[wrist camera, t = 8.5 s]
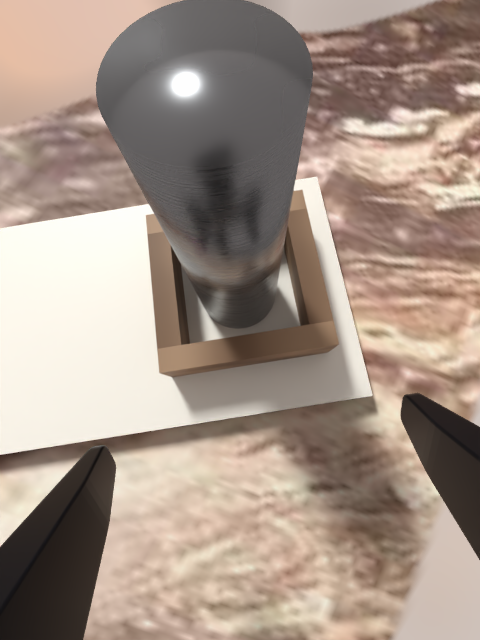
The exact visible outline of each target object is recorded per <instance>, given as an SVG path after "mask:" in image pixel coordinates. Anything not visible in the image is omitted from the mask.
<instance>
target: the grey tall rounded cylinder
mask: <svg viewBox="0 0 480 640" xmlns="http://www.w3.org/2000/svg"><path fill="white" fill-rule="evenodd" d="M312 77H313V71H312V61H311V57H310V53H309V51H308V48H307V46H306V44H305V42H304V40H303V39H302V37H301V36H300V34H299V33H298V32H297V31H296V30H295V28H294V27H293V26H292V25H291V24H290V23H288V22H287V21H286V20H285V19H284V18H282V17H281V16H279V15H278V14H276V13H275V12H273V11H271V10H269V9H267V8H265V7H263V6H260V5H257V4H255V3H252V2H248V1H244V0H184V1H180V2H176V3H172V4H169V5H167V6H164V7H161V8H159V9H157V10H155V11H152V12H150V13H148V14H147V15H145V16H144V17H142V18H140V19H139V20H137V21H136V22H134V23H133V24H132V25H130V26H129V27H128V28H127V29H126V30H125V31H124V32H122V33H121V34H120V35H119V37H118V38H117V39H116V40H115V41H114V42H113V44H112V45H111V46H110V48H109V49H108V51H107V52H106V54H105V56H104V58H103V60H102V63H101V65H100V68H99V71H98V77H97V82H96V96H97V102H98V107H99V109H100V112H101V115H102V117H103V119H104V121H105V123H106V125H107V126H108V128H109V130H110V132H111V134H112V136H113V138H114V140H115V141H116V143H117V145H118V147H119V149H120V151H121V153H122V155H123V156H124V158H125V160H126V162H127V164H128V166H129V168H130V170H131V171H132V173H133V175H134V177H135V179H136V181H137V183H138V185H139V186H140V188H141V190H142V192H143V194H144V196H145V198H146V200H147V201H148V203H149V205H150V207H151V209H152V211H153V213H154V215H155V216H156V218H157V220H158V222H159V224H160V226H161V228H162V230H163V231H164V233H165V235H166V237H167V239H168V241H169V243H170V245H171V246H172V248H173V250H174V252H175V254H176V256H177V258H178V260H179V261H180V263H181V265H182V267H183V269H184V271H185V273H186V275H187V276H188V278H189V280H190V282H191V284H192V286H193V288H194V290H195V291H196V293H197V295H198V297H199V299H200V301H201V303H202V305H203V306H204V308H205V310H206V312H207V313H208V315H209V316H210V317H211V318H212V319H213V320H214V321H216V322H217V323H219V324H220V325H223V326H225V327H229V328H235V329H241V328H247V327H250V326H253V325H255V324H257V323H259V322H260V321H261V320H263V319H264V318H265V317H266V316H267V315H268V313H269V312H270V310H271V309H272V307H273V304H274V301H275V295H276V290H277V284H278V278H279V272H280V266H281V261H282V255H283V249H284V243H285V237H286V232H287V226H288V220H289V214H290V208H291V203H292V197H293V191H294V185H295V179H296V174H297V168H298V162H299V156H300V150H301V145H302V139H303V133H304V127H305V121H306V115H307V110H308V104H309V98H310V92H311V86H312Z"/></svg>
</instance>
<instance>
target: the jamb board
mask: <svg viewBox="0 0 480 640" xmlns="http://www.w3.org/2000/svg"><path fill="white" fill-rule="evenodd" d="M297 190H303V194H304V199H305V203H306V207H307V211H308V215H309V220H310V224H311V228H312V232H313V236H314V240H315V245H316V249H317V253H318V257H319V261H320V266H321V270H322V274H323V278H324V282H325V287H326V291H327V295H328V299H329V303H330V308H331V312H332V316H333V320H334V324H335V329H336V333H337V337H338V341H339V345H338V346H336V347H335V348H334V349H332V350H331V351H329V352H328V353H322V354H316V355H310V356H303V357H297V358H291V359H285V360H278V361H272V362H266V363H259V364H253V365H247V366H241V367H234V368H228V369H222V370H216V371H209V372H203V373H197V374H191V375H184V376H178V377H170V376H167V375H164V374H161V373H159V364H158V352H157V341H156V329H155V317H154V306H153V294H152V283H151V271H150V259H149V248H148V236H147V225H146V215H150V214H154V213H153V211H152V209H151V207H150V205H149V204H147V205H141V206H135V207H129V208H122V209H116V210H110V211H104V212H98V213H92V214H86V215H80V216H73V217H67V218H61V219H55V220H49V221H43V222H37V223H31V224H24V225H18V226H12V227H6V228H0V455H2V454H8V453H15V452H21V451H27V450H34V449H40V448H46V447H53V446H59V445H65V444H72V443H78V442H84V441H90V440H97V439H103V438H109V437H116V436H122V435H128V434H135V433H141V432H147V431H154V430H160V429H166V428H172V427H179V426H185V425H191V424H198V423H204V422H210V421H217V420H223V419H229V418H236V417H242V416H248V415H254V414H261V413H267V412H273V411H280V410H286V409H292V408H299V407H305V406H311V405H317V404H324V403H330V402H336V401H343V400H349V399H355V398H362V397H368V396H373V395H372V391H371V387H370V383H369V379H368V375H367V371H366V367H365V363H364V359H363V355H362V352H361V348H360V344H359V340H358V336H357V332H356V328H355V324H354V320H353V316H352V312H351V308H350V305H349V301H348V297H347V293H346V289H345V285H344V281H343V277H342V273H341V269H340V265H339V261H338V258H337V254H336V250H335V246H334V242H333V238H332V234H331V230H330V226H329V222H328V218H327V214H326V211H325V207H324V203H323V199H322V195H321V191H320V187H319V183H318V179H317V177H312V178H306V179H300V180H295V185H294V191H297ZM181 269H182V278H183V287H184V295H185V304H186V313H187V322H188V331H189V339H190V344H191V343H197V342H203V341H209V340H216V339H222V338H228V337H234V336H241V335H247V334H253V333H259V332H266V331H272V330H278V329H284V328H291V327H297V326H300V322H299V317H298V312H297V307H296V302H295V298H294V293H293V288H292V283H291V279H290V274H289V269H288V264H287V259H286V255H285V250H284V249H283V255H282V261H281V266H280V272H279V278H278V284H277V290H276V295H275V301H274V304H273V307H272V309H271V310H270V312H269V313H268V315H267V316H266V317H265V318H264V319H263V320H261V321H260V322H259V323H257V324H255V325H253V326H250V327H247V328H241V329H235V328H229V327H225V326H223V325H220V324H219V323H217V322H216V321H214V320H213V319H212V318H211V317H210V316H209V315H208V313H207V312H206V310H205V308H204V306H203V305H202V303H201V301H200V299H199V297H198V295H197V293H196V291H195V290H194V288H193V286H192V284H191V282H190V280H189V278H188V276H187V275H186V273H185V271H184V269H183V267H182V265H181Z"/></svg>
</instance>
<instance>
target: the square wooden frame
mask: <svg viewBox="0 0 480 640" xmlns="http://www.w3.org/2000/svg"><path fill="white" fill-rule="evenodd" d="M146 225H147V236H148V248H149V259H150V271H151V283H152V294H153V306H154V317H155V329H156V341H157V352H158V364H159V373H161V374H164V375H167V376H170V377H178V376H184V375H191V374H197V373H203V372H209V371H216V370H222V369H228V368H234V367H241V366H247V365H253V364H259V363H266V362H272V361H278V360H285V359H291V358H297V357H303V356H310V355H316V354H322V353H328V352H329V351H331V350H332V349H334V348H335V347H336V346H338V345H339V341H338V337H337V333H336V329H335V324H334V320H333V316H332V312H331V308H330V303H329V299H328V295H327V291H326V287H325V282H324V278H323V274H322V270H321V266H320V261H319V257H318V253H317V249H316V245H315V240H314V236H313V232H312V228H311V224H310V220H309V215H308V211H307V207H306V203H305V199H304V194H303V190H297V191H293V197H292V203H291V208H290V214H289V220H288V226H287V232H286V237H285V243H284V250H285V255H286V259H287V264H288V269H289V274H290V279H291V283H292V288H293V293H294V298H295V302H296V307H297V312H298V317H299V322H300V326H297V327H291V328H284V329H278V330H272V331H266V332H259V333H253V334H247V335H241V336H234V337H228V338H222V339H216V340H209V341H203V342H197V343H191V344H190V339H189V331H188V322H187V313H186V304H185V295H184V287H183V278H182V269H181V263H180V261H179V260H178V258H177V256H176V254H175V252H174V250H173V248H172V246H171V245H170V243H169V241H168V239H167V237H166V235H165V233H164V231H163V230H162V228H161V226H160V224H159V222H158V220H157V218H156V216H155V215H154V214H150V215H146Z"/></svg>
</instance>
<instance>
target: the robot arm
mask: <svg viewBox="0 0 480 640" xmlns="http://www.w3.org/2000/svg"><path fill="white" fill-rule="evenodd" d="M401 420H402V423H403V425H404V427H405V429H406V431H407V433H408V435H409V438H410V440H411V442H412V444H413V446H414V448H415V450H416V452H417V454H418V456H419V459H420V461H421V463H422V465H423V467H424V469H425V471H426V472H427V474H428V476H429V477H430V479H431V481H432V482H433V484H434V486H435V487H436V489H437V491H438V492H439V494H440V496H441V497H442V499H443V501H444V502H445V504H446V505H447V507H448V509H449V510H450V512H451V514H452V515H453V517H454V519H455V520H456V522H457V524H458V525H459V527H460V528H461V530H462V532H463V533H464V535H465V537H466V538H467V540H468V541H469V543H470V545H471V546H472V548H473V550H474V551H475V553H476V555H477V556H478V558H479V560H480V427H479V426H477V425H475V424H474V423H472V422H470V421H468V420H467V419H465V418H463V417H461V416H459V415H458V414H456V413H454V412H452V411H450V410H449V409H447V408H445V407H443V406H441V405H440V404H438V403H436V402H434V401H432V400H431V399H429V398H427V397H425V396H424V395H422V394H420V393H412V394H406V395H404V397H403V400H402V407H401ZM115 474H116V464H115V461H114V459H113V457H112V455H111V453H110V451H109V449H108V448H107V446H105V445H101V446H95V447H91V448H90V449H89V450H88V451H87V452H86V453H85V454H84V455H83V456H82V458H81V459H80V460H79V461H78V462H77V463H76V464H75V465H74V466H73V467H72V469H71V470H70V471H69V472H68V473H67V474H66V475H65V476H64V477H63V478H62V480H61V481H60V482H59V483H58V484H57V485H56V486H55V487H54V488H53V489H52V491H51V492H50V493H49V494H48V495H47V496H46V497H45V498H44V499H43V500H42V501H41V503H40V504H39V505H38V506H37V507H36V508H35V509H34V510H33V511H32V512H31V514H30V515H29V516H28V517H27V518H26V519H25V520H24V521H23V522H22V523H21V525H20V526H19V527H18V528H17V529H16V530H15V531H14V532H13V533H12V534H11V536H10V537H9V538H8V539H7V540H6V541H5V542H4V543H3V544H2V545H1V547H0V640H83V638H84V633H85V629H86V624H87V620H88V616H89V611H90V607H91V602H92V598H93V594H94V589H95V585H96V580H97V576H98V571H99V567H100V563H101V558H102V554H103V549H104V545H105V541H106V536H107V532H108V527H109V521H110V515H111V506H112V498H113V490H114V482H115Z"/></svg>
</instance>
